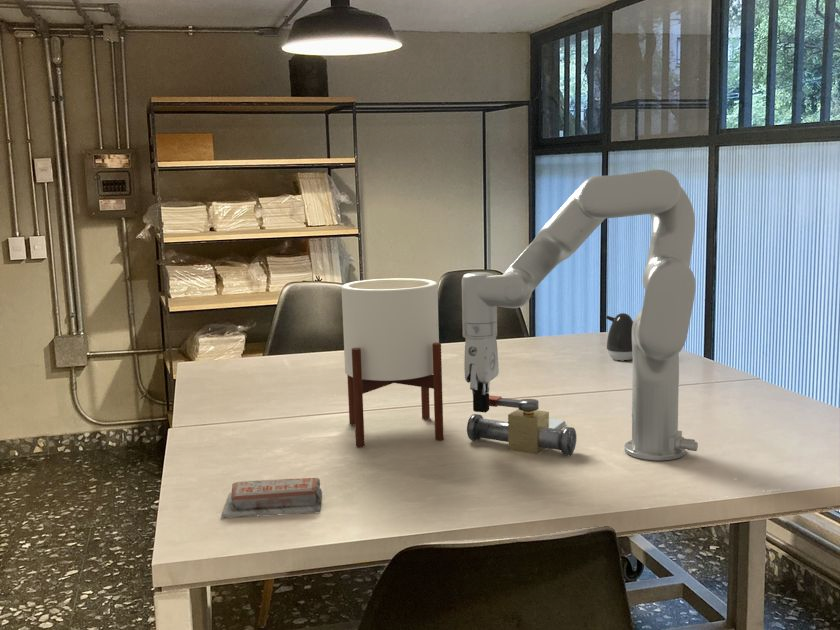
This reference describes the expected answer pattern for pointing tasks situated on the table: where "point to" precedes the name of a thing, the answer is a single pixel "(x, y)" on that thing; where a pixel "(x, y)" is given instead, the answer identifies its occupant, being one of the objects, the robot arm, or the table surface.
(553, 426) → the hard drive
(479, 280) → the robot arm
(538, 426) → the pipe and valve body
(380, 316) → the plant pot with stand
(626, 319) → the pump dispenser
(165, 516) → the table surface
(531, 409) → the valve lever
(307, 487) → the packaged product
